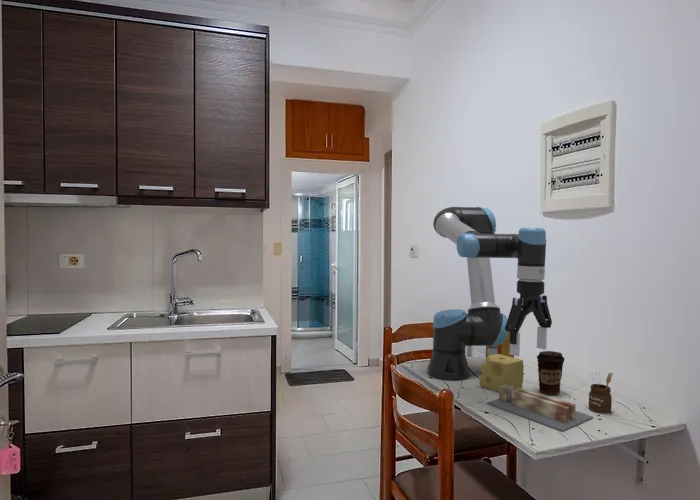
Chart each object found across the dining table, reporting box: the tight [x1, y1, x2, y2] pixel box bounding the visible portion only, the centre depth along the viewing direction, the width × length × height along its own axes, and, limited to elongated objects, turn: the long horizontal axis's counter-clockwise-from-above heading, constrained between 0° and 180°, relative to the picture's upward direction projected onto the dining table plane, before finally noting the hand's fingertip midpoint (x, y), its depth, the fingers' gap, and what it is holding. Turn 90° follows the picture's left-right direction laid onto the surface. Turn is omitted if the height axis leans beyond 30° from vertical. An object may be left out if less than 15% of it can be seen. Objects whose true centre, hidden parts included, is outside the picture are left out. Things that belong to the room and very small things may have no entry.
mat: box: [486, 398, 594, 433], centre depth 134 cm, size 24×16×1 cm, turn 36°
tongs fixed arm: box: [498, 385, 570, 423], centre depth 133 cm, size 22×3×4 cm, turn 36°
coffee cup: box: [536, 350, 566, 396], centre depth 150 cm, size 9×8×13 cm
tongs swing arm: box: [516, 388, 576, 420], centre depth 133 cm, size 17×2×4 cm, turn 40°
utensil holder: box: [588, 370, 614, 414], centre depth 135 cm, size 6×6×12 cm
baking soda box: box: [485, 326, 515, 358], centre depth 181 cm, size 10×6×16 cm
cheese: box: [478, 354, 524, 393], centre depth 154 cm, size 10×11×10 cm
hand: (528, 351), depth 135 cm, fingers open, 13 cm apart
